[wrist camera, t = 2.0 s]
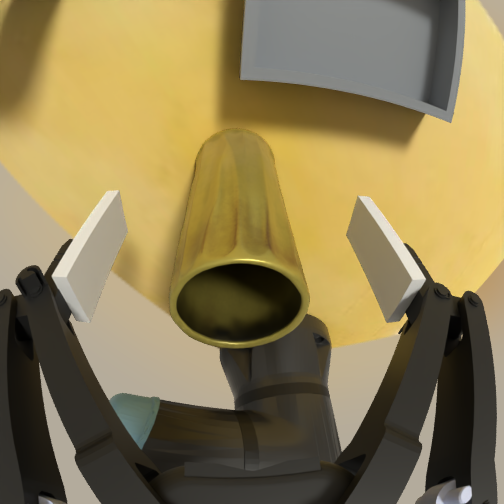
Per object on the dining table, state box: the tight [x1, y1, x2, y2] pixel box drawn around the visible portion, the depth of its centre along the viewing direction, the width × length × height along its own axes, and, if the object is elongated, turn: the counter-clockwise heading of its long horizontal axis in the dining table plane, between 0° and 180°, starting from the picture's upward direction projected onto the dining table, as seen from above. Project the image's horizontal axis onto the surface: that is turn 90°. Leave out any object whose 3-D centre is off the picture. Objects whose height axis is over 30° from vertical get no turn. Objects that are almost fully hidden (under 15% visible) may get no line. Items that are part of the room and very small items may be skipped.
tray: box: [239, 0, 465, 123], centre depth 12 cm, size 12×16×4 cm
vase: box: [169, 129, 310, 349], centre depth 16 cm, size 6×6×14 cm
